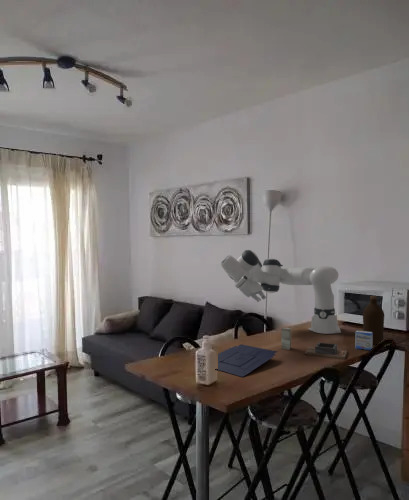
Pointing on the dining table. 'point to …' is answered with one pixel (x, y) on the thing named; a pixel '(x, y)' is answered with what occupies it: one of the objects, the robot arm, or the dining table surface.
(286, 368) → the dining table surface
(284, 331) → the peg block
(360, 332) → the medicine box
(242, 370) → the dark blue flat slab
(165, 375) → the dining table surface
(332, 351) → the rack
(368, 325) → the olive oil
